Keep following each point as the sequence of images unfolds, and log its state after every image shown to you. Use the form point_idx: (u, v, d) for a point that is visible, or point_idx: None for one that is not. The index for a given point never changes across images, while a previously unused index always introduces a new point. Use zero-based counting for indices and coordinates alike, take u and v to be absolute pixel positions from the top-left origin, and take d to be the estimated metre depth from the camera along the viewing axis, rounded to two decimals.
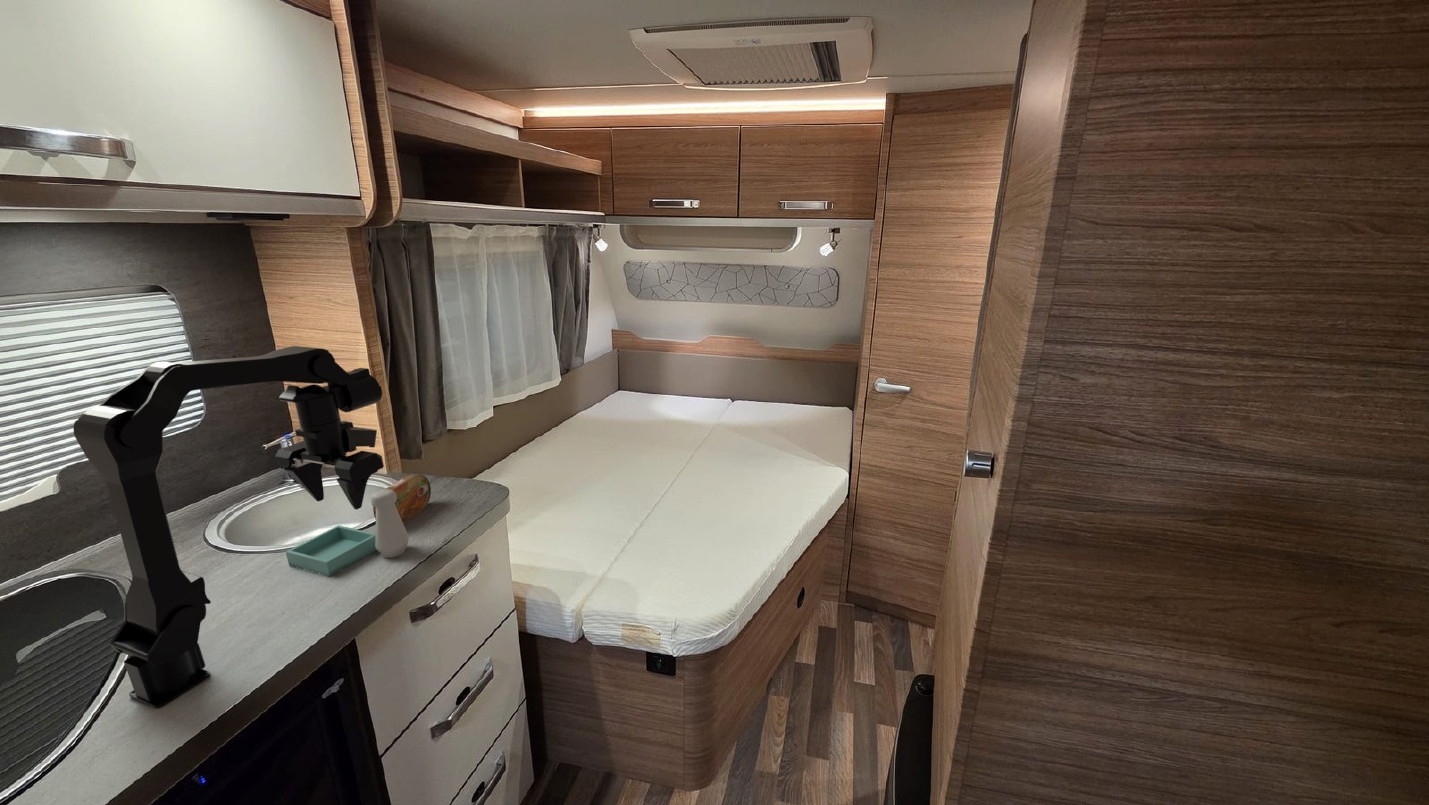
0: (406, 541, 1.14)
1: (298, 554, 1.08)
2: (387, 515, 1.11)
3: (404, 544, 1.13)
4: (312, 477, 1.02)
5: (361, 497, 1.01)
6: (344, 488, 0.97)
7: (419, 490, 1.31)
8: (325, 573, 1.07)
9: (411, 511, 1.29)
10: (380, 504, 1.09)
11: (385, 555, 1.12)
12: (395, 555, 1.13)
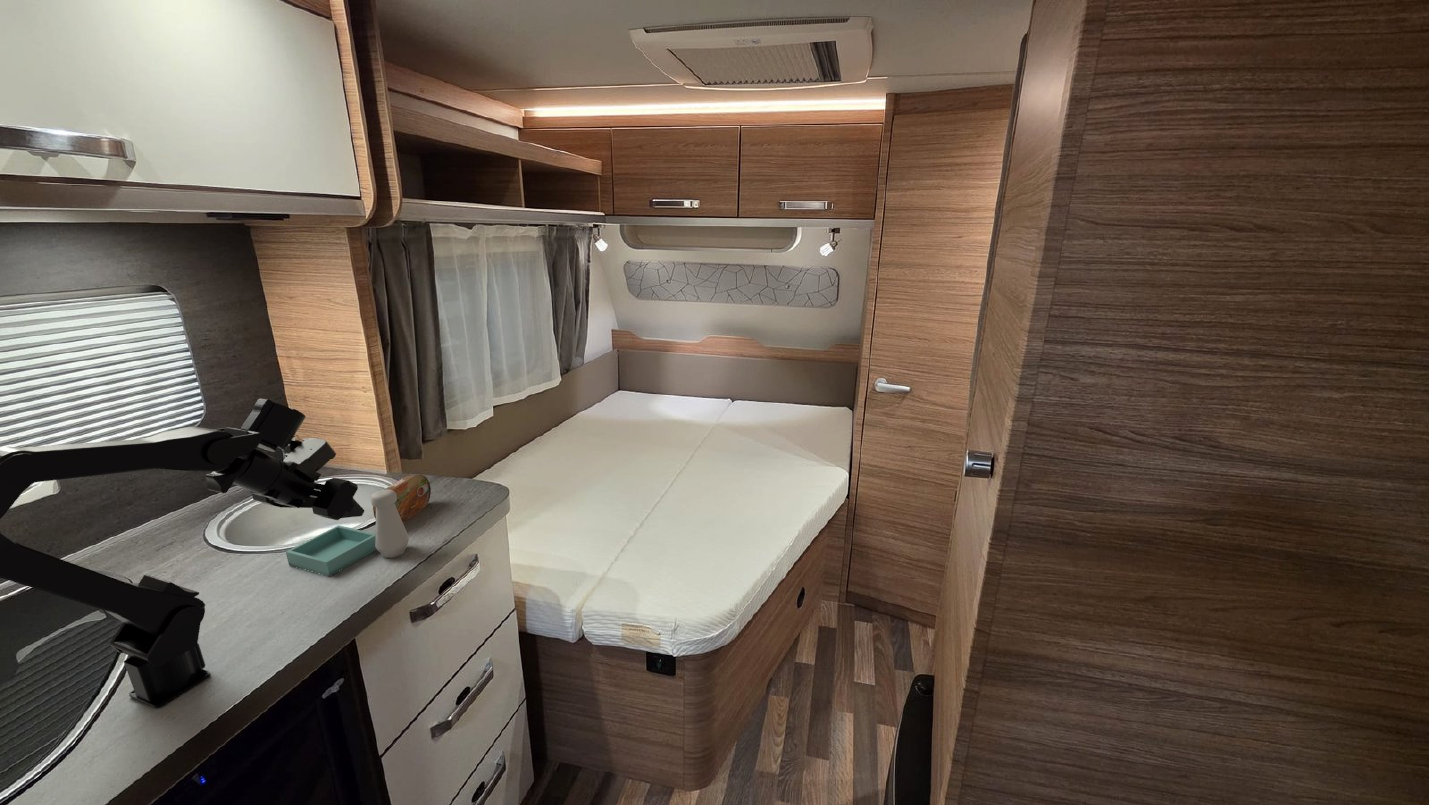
0: (406, 541, 1.14)
1: (298, 554, 1.08)
2: (387, 515, 1.11)
3: (404, 544, 1.13)
4: None
5: (358, 506, 1.00)
6: None
7: (419, 490, 1.31)
8: (325, 573, 1.07)
9: (411, 511, 1.29)
10: (380, 504, 1.09)
11: (385, 555, 1.12)
12: (395, 555, 1.13)
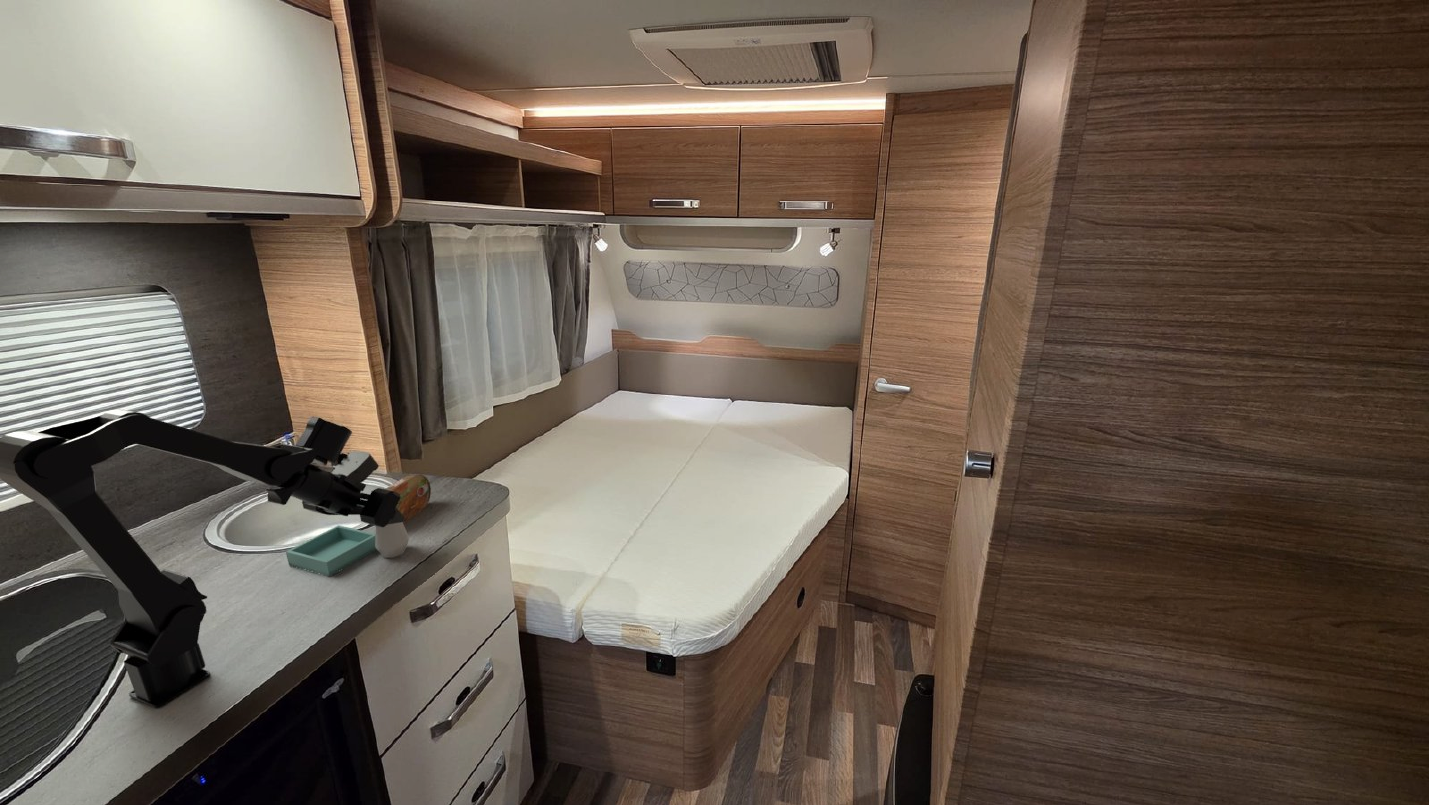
0: (406, 541, 1.14)
1: (298, 554, 1.08)
2: None
3: (404, 544, 1.13)
4: None
5: (399, 513, 1.08)
6: None
7: (419, 490, 1.31)
8: (325, 573, 1.07)
9: (411, 511, 1.29)
10: None
11: (385, 555, 1.12)
12: (395, 555, 1.13)
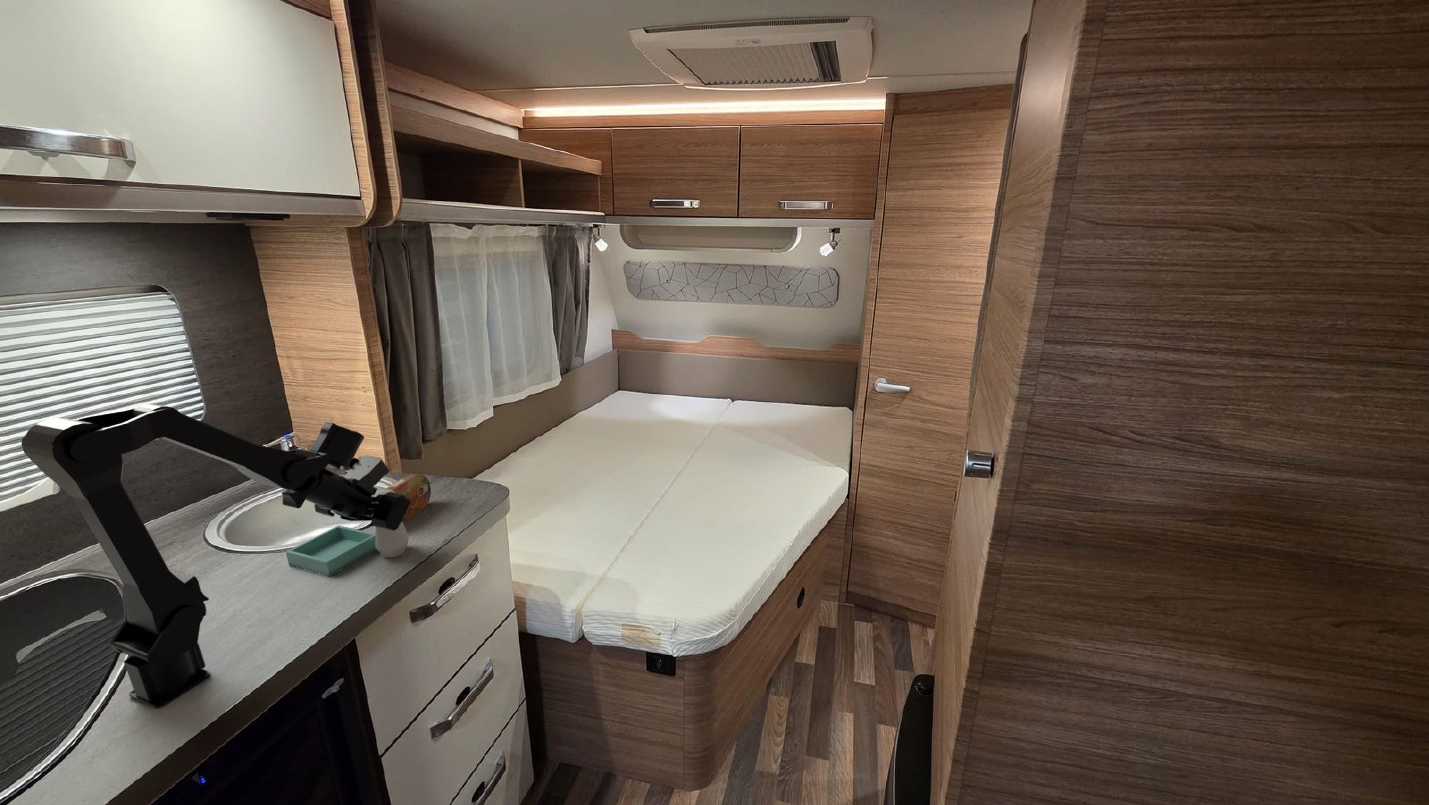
0: (406, 541, 1.14)
1: (298, 554, 1.08)
2: None
3: (404, 544, 1.13)
4: None
5: None
6: None
7: (419, 490, 1.31)
8: (325, 573, 1.07)
9: (411, 511, 1.29)
10: None
11: (385, 555, 1.12)
12: (395, 555, 1.13)
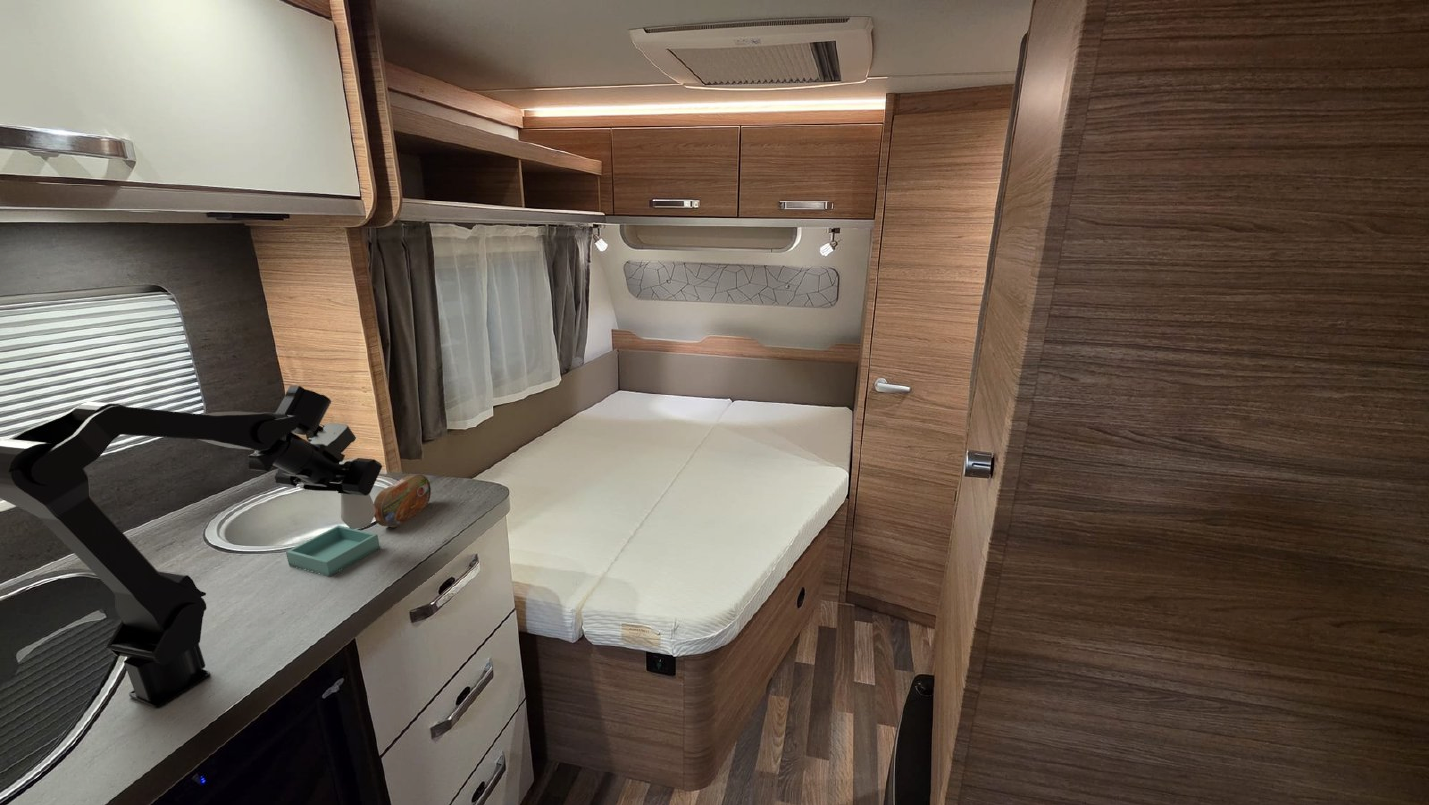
0: (373, 511, 1.12)
1: (298, 554, 1.08)
2: None
3: (372, 514, 1.11)
4: None
5: None
6: None
7: (419, 490, 1.31)
8: (325, 573, 1.07)
9: (411, 511, 1.29)
10: None
11: (352, 526, 1.10)
12: (362, 526, 1.10)
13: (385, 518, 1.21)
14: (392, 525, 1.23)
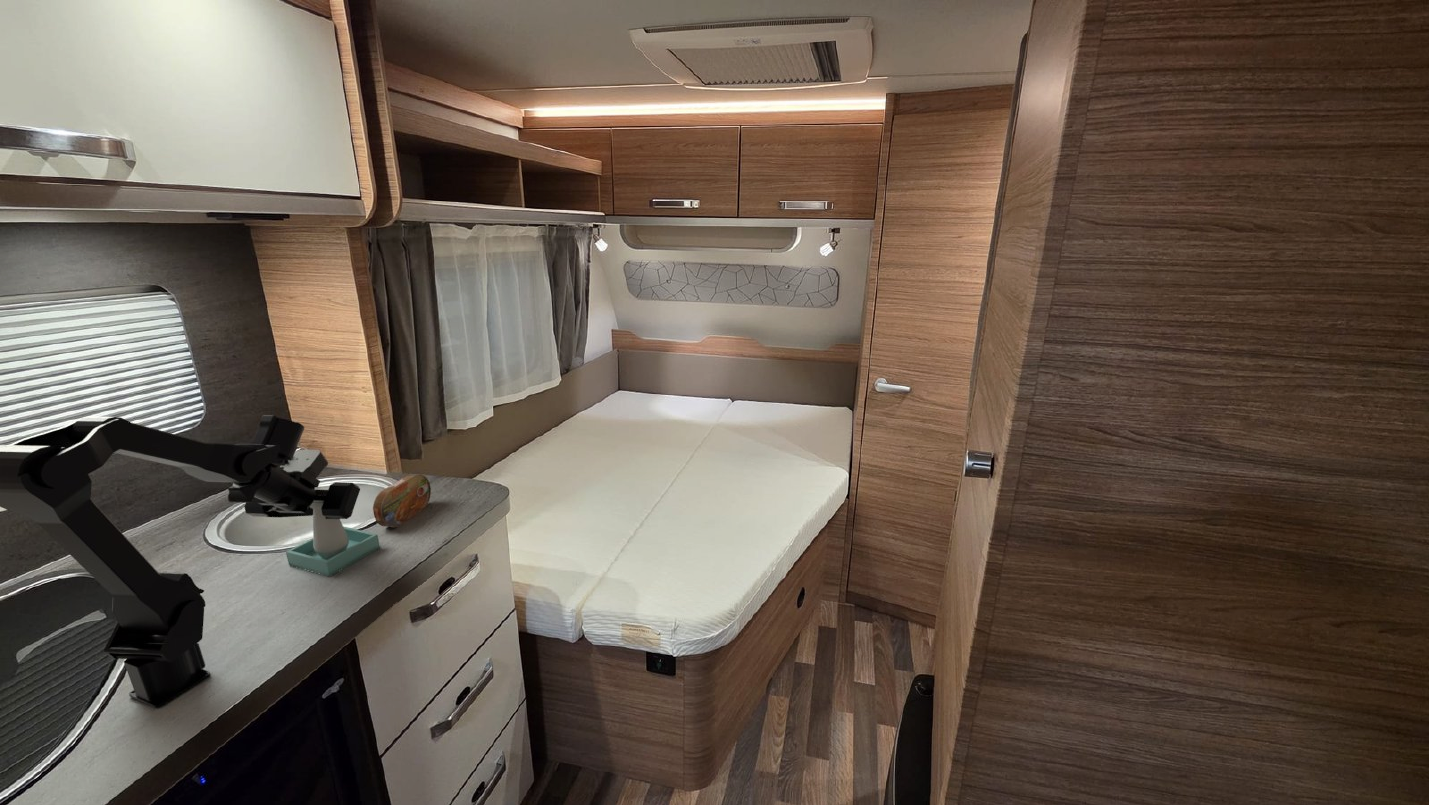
0: (347, 541, 1.13)
1: (298, 554, 1.08)
2: None
3: (346, 544, 1.12)
4: None
5: None
6: None
7: (419, 490, 1.31)
8: (325, 573, 1.07)
9: (411, 511, 1.29)
10: (320, 504, 1.08)
11: (326, 557, 1.10)
12: None
13: (385, 518, 1.21)
14: (392, 525, 1.23)
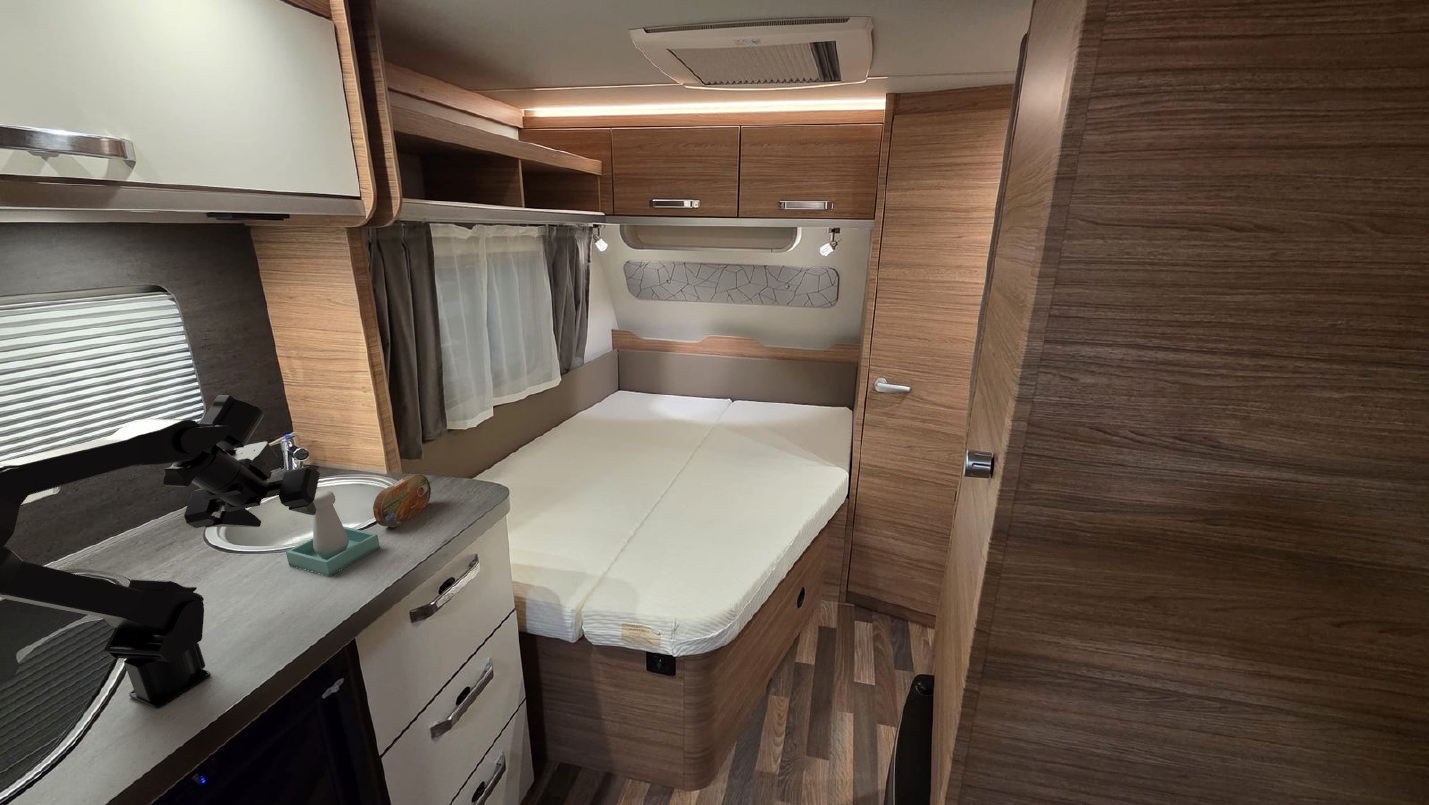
0: (347, 541, 1.13)
1: (298, 554, 1.08)
2: (327, 515, 1.09)
3: (346, 544, 1.12)
4: (238, 514, 0.96)
5: (312, 503, 1.00)
6: (300, 510, 0.96)
7: (419, 490, 1.31)
8: (325, 573, 1.07)
9: (411, 511, 1.29)
10: (320, 505, 1.08)
11: (326, 557, 1.10)
12: None
13: (385, 518, 1.21)
14: (392, 525, 1.23)
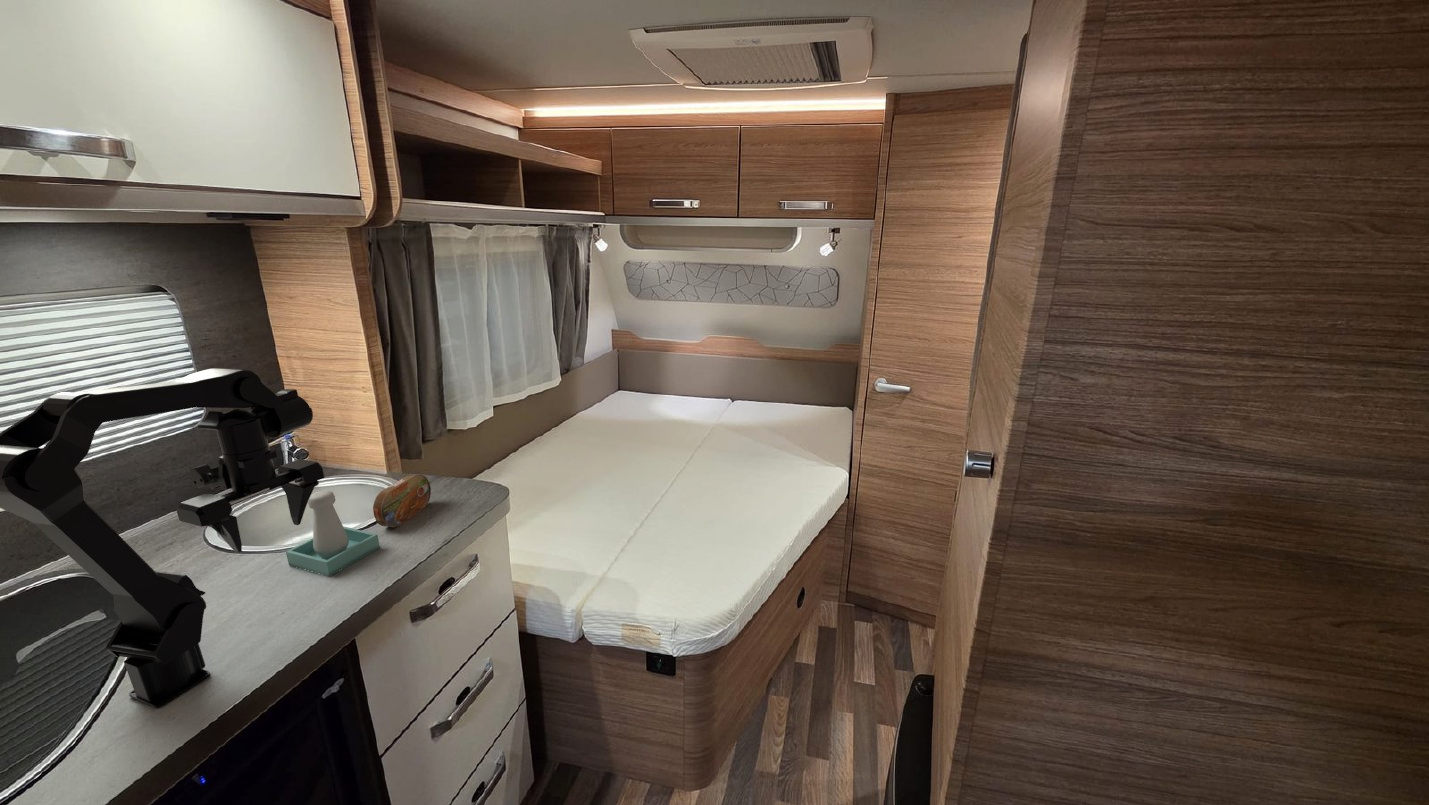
0: (347, 541, 1.13)
1: (298, 554, 1.08)
2: (327, 515, 1.09)
3: (346, 544, 1.12)
4: None
5: None
6: (307, 496, 0.98)
7: (419, 490, 1.31)
8: (325, 573, 1.07)
9: (411, 511, 1.29)
10: (320, 505, 1.08)
11: (326, 557, 1.10)
12: None
13: (385, 518, 1.21)
14: (392, 525, 1.23)
